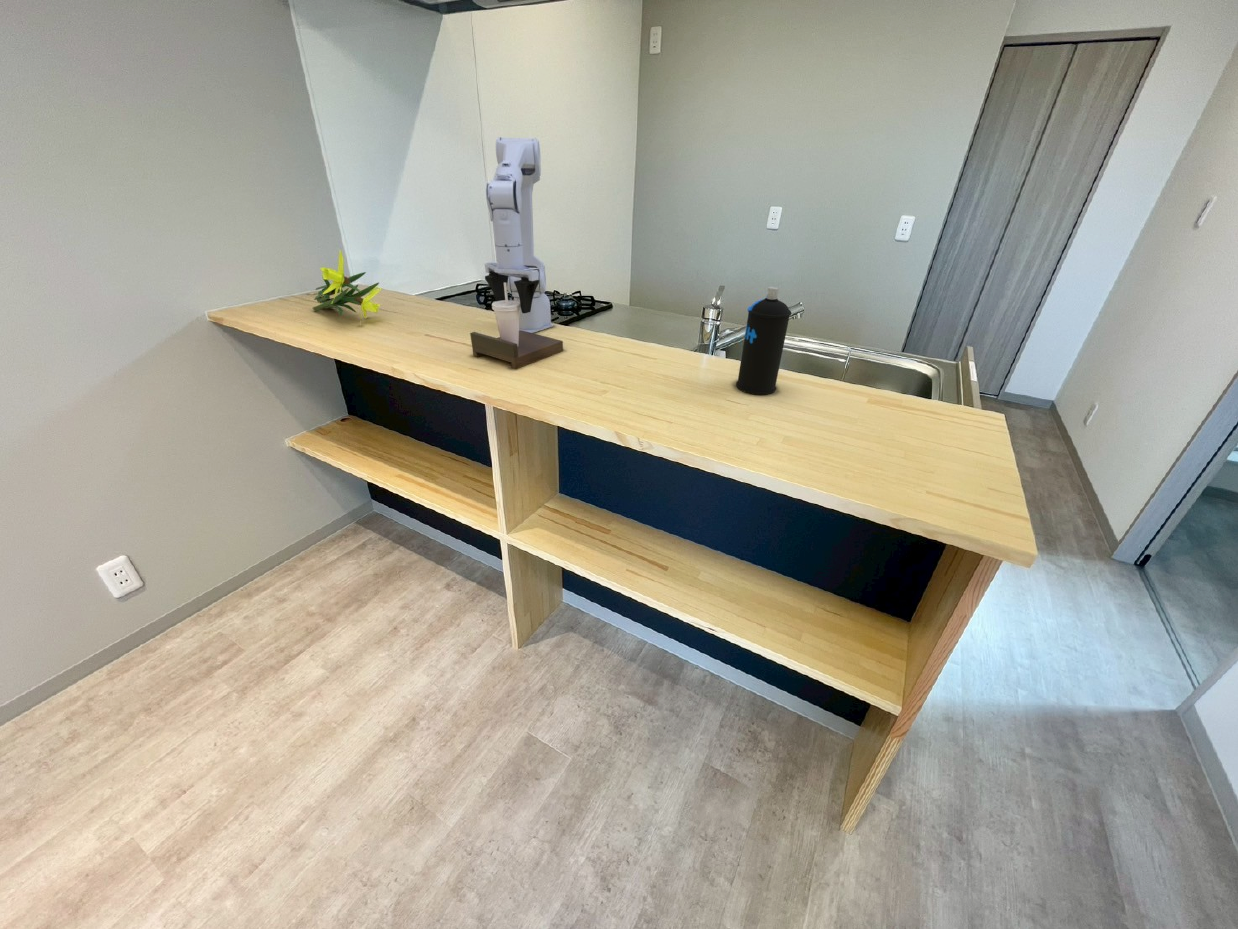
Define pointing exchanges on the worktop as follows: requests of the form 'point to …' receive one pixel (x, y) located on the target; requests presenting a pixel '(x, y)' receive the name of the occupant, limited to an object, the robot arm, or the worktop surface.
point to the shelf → (516, 348)
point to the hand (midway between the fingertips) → (514, 309)
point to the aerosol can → (763, 345)
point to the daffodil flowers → (344, 297)
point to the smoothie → (507, 318)
